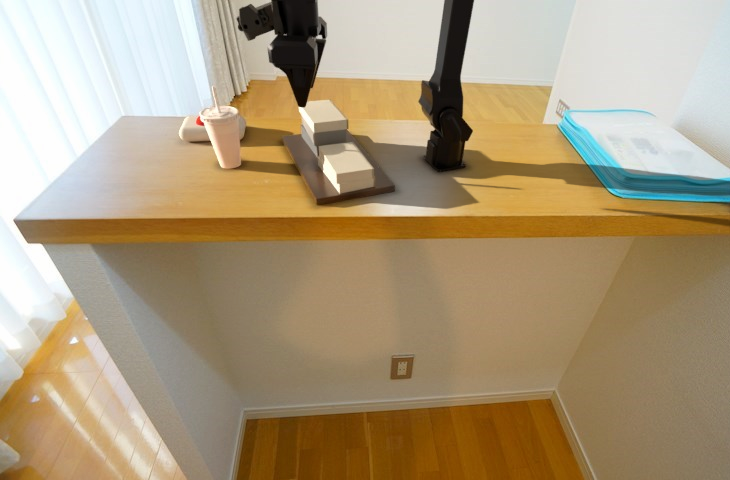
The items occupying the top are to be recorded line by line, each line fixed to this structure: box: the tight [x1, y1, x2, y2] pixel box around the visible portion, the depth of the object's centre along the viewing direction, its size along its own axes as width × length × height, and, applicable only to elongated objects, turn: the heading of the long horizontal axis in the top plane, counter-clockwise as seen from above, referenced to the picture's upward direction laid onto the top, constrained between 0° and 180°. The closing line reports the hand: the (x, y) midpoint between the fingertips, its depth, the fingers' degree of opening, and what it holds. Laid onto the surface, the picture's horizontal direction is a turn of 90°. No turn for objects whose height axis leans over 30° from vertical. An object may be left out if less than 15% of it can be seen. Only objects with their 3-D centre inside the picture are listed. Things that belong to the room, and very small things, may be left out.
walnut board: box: [281, 129, 396, 206], centre depth 79 cm, size 14×26×1 cm, turn 25°
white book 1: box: [298, 99, 350, 133], centre depth 79 cm, size 6×11×2 cm, turn 25°
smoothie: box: [199, 85, 242, 169], centre depth 72 cm, size 6×6×14 cm
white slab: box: [178, 115, 247, 142], centre depth 85 cm, size 12×4×10 cm
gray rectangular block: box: [300, 123, 348, 158], centre depth 82 cm, size 6×11×3 cm, turn 27°
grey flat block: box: [300, 114, 346, 146], centre depth 80 cm, size 6×11×3 cm, turn 23°
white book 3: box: [317, 156, 375, 194], centre depth 73 cm, size 6×11×2 cm, turn 28°
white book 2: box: [319, 142, 374, 184], centre depth 72 cm, size 6×11×2 cm, turn 24°
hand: (306, 97), depth 68 cm, fingers open, 9 cm apart
